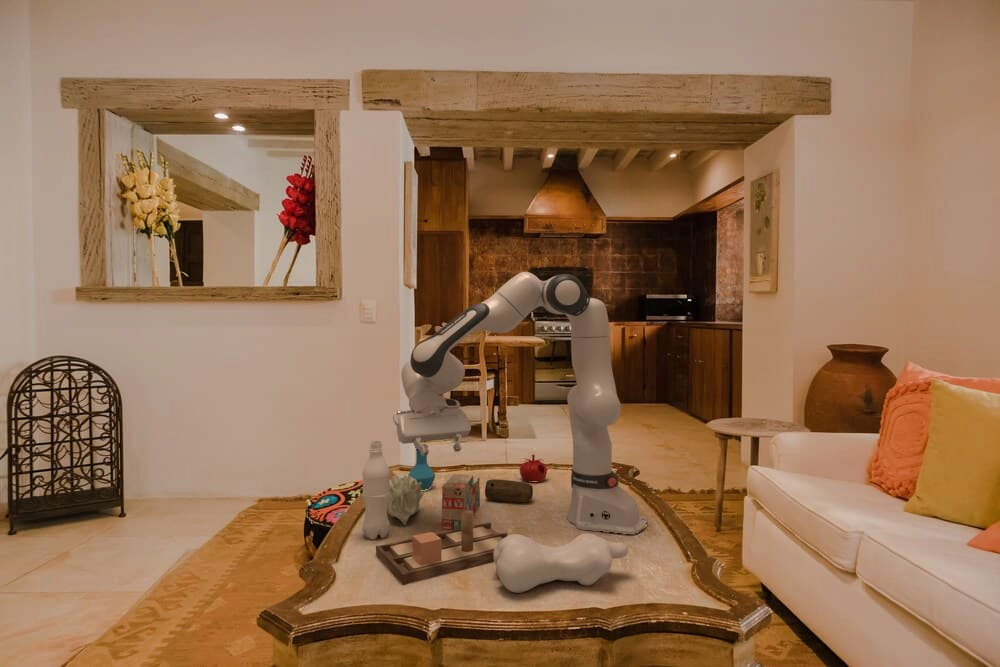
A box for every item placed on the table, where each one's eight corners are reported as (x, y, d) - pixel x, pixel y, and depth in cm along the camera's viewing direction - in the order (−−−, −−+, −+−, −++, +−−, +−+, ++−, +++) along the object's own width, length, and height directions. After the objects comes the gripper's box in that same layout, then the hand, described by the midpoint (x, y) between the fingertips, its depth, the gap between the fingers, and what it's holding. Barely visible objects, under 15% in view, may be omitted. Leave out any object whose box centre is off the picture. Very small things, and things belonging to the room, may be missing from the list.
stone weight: (483, 503, 174) (483, 482, 174) (487, 496, 181) (487, 476, 181) (531, 506, 172) (531, 484, 172) (533, 499, 179) (533, 478, 179)
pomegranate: (518, 484, 196) (517, 458, 195) (521, 476, 206) (521, 451, 205) (546, 485, 194) (545, 458, 194) (548, 476, 204) (547, 451, 204)
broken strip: (482, 530, 148) (482, 526, 148) (493, 538, 143) (493, 533, 143) (389, 551, 135) (389, 546, 135) (398, 560, 130) (398, 555, 130)
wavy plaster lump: (393, 534, 166) (383, 483, 172) (435, 522, 166) (424, 471, 172) (377, 530, 149) (367, 474, 155) (424, 517, 150) (412, 461, 156)
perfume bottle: (433, 492, 184) (433, 448, 184) (405, 492, 185) (405, 448, 184) (436, 484, 194) (436, 442, 193) (410, 484, 194) (410, 442, 194)
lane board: (489, 529, 151) (489, 521, 151) (526, 553, 136) (526, 544, 136) (376, 554, 135) (376, 545, 135) (403, 584, 119) (403, 574, 119)
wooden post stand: (499, 541, 141) (500, 501, 141) (512, 549, 136) (512, 507, 135) (403, 563, 127) (403, 519, 127) (413, 573, 122) (413, 528, 122)
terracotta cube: (432, 552, 130) (432, 531, 130) (441, 560, 126) (441, 538, 126) (412, 557, 128) (412, 535, 128) (421, 565, 124) (421, 543, 124)
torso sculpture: (502, 610, 113) (642, 586, 117) (497, 559, 113) (637, 537, 116) (493, 576, 128) (617, 555, 132) (488, 531, 128) (612, 512, 132)
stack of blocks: (460, 504, 173) (460, 465, 172) (480, 506, 172) (480, 466, 171) (441, 530, 152) (441, 485, 151) (463, 531, 151) (464, 486, 150)
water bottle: (366, 543, 142) (365, 446, 142) (359, 533, 148) (359, 440, 148) (393, 538, 145) (393, 443, 145) (385, 529, 152) (385, 438, 151)
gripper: (394, 404, 145) (408, 449, 137) (463, 400, 155) (480, 441, 147) (388, 419, 149) (401, 463, 140) (456, 414, 159) (472, 454, 151)
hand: (442, 452), depth 144 cm, fingers open, 8 cm apart
